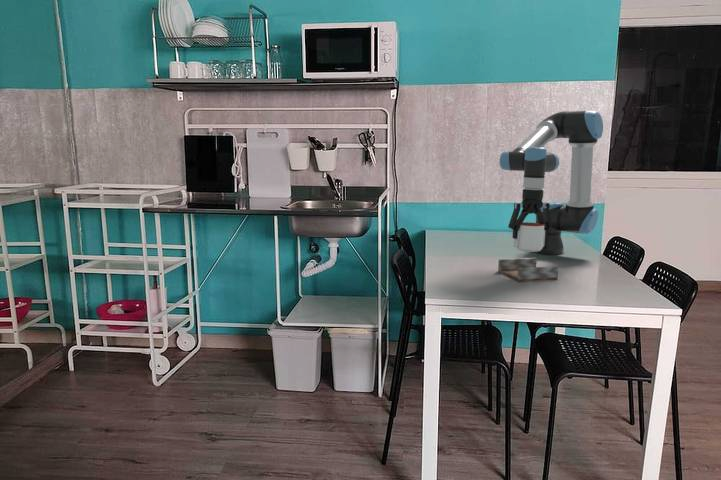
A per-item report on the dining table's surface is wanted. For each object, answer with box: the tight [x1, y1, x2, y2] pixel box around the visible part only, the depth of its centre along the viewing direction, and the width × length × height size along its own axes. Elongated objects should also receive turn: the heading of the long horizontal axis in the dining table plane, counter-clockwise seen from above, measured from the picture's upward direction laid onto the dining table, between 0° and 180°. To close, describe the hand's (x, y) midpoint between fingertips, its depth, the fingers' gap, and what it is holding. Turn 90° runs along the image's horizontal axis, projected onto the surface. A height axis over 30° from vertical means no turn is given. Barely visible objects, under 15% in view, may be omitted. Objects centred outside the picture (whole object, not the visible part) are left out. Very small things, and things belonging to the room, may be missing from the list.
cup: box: [516, 221, 544, 253], centre depth 206 cm, size 10×10×10 cm
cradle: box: [497, 257, 559, 283], centre depth 208 cm, size 16×16×5 cm
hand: (528, 246), depth 206 cm, fingers closed on cup, 10 cm apart
